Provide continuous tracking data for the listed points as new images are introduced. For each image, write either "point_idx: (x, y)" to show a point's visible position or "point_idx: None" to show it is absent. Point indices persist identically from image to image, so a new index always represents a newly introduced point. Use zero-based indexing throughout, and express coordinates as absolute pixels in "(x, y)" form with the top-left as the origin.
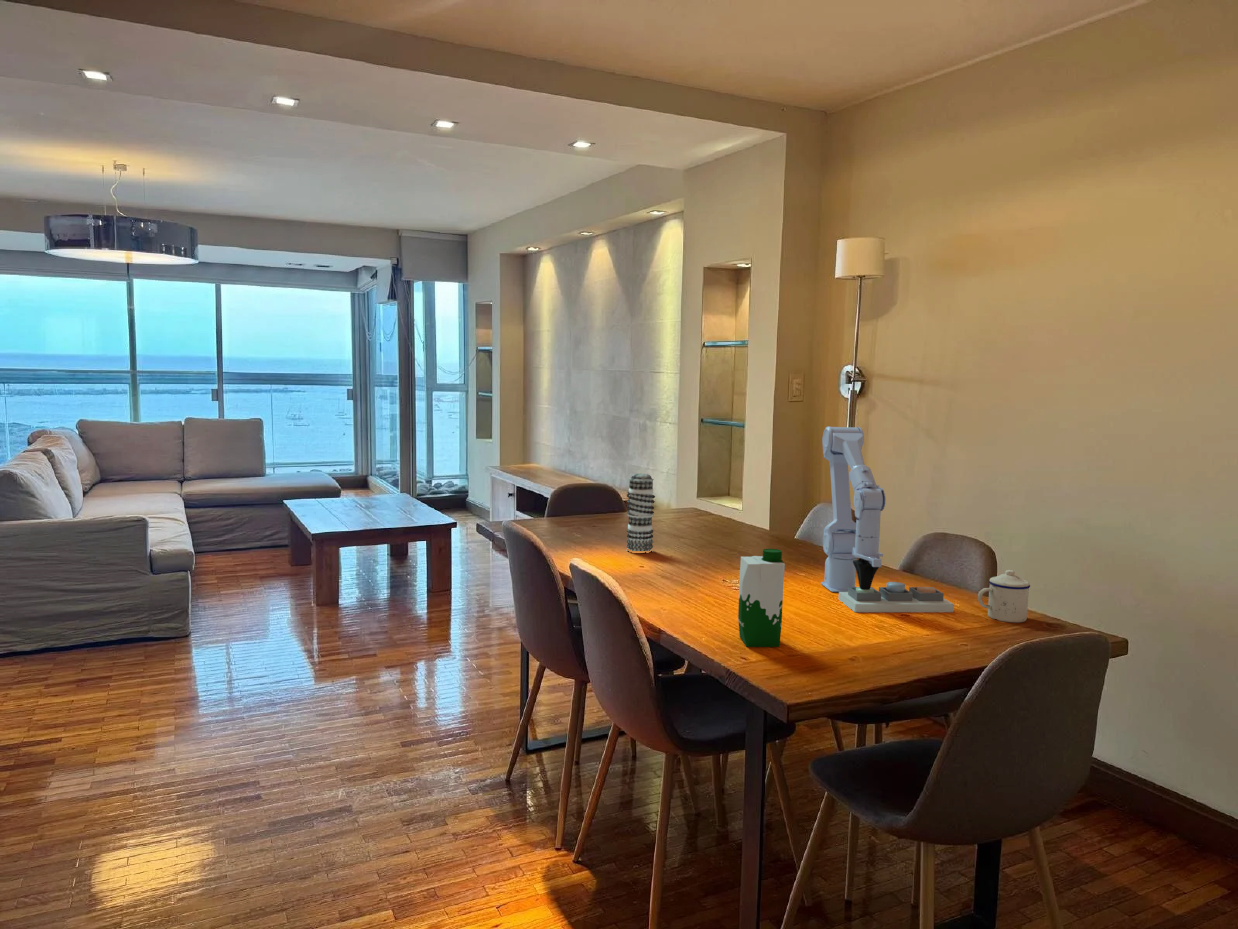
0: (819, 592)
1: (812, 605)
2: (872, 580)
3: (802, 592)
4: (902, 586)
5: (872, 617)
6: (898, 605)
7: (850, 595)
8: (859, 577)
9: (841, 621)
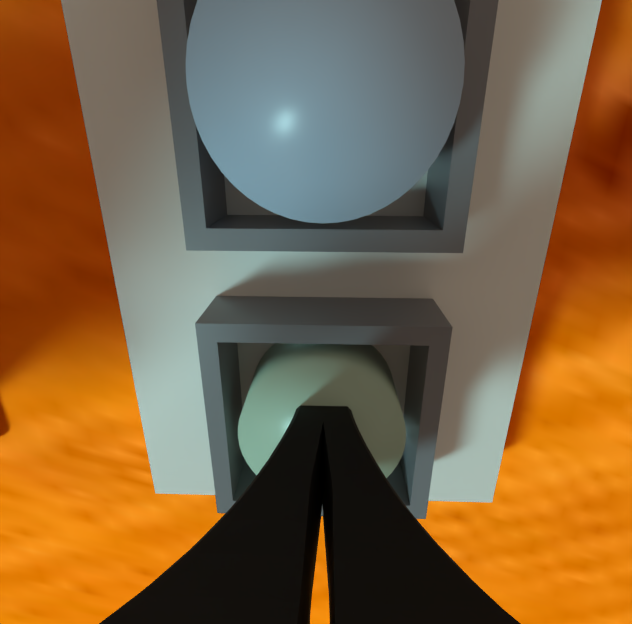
0: (15, 498)
1: (311, 598)
2: (375, 462)
3: (42, 570)
4: (456, 20)
5: (601, 404)
6: (558, 177)
7: None
8: (312, 587)
9: (624, 570)
